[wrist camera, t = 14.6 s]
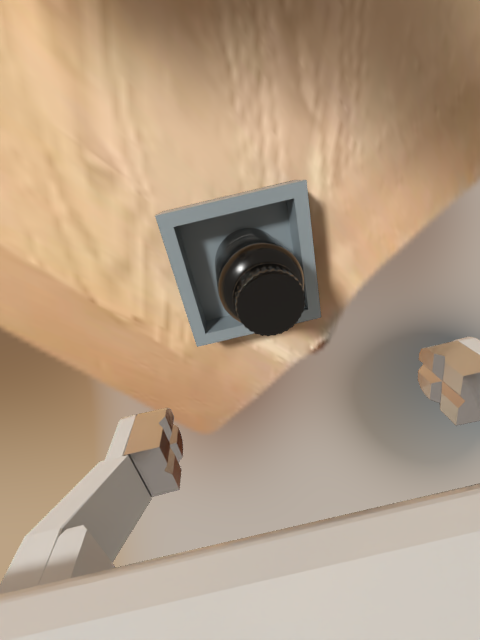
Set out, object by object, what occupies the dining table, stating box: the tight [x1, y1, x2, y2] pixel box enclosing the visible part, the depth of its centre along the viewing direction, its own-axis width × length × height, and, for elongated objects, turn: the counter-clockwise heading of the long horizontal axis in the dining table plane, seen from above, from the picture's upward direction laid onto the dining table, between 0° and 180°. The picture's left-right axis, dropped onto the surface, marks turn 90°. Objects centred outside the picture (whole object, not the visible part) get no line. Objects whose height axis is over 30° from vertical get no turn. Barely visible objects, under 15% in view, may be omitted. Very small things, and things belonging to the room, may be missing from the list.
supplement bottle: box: [215, 228, 305, 336], centre depth 25 cm, size 7×7×12 cm
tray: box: [155, 180, 321, 347], centre depth 30 cm, size 13×13×4 cm
